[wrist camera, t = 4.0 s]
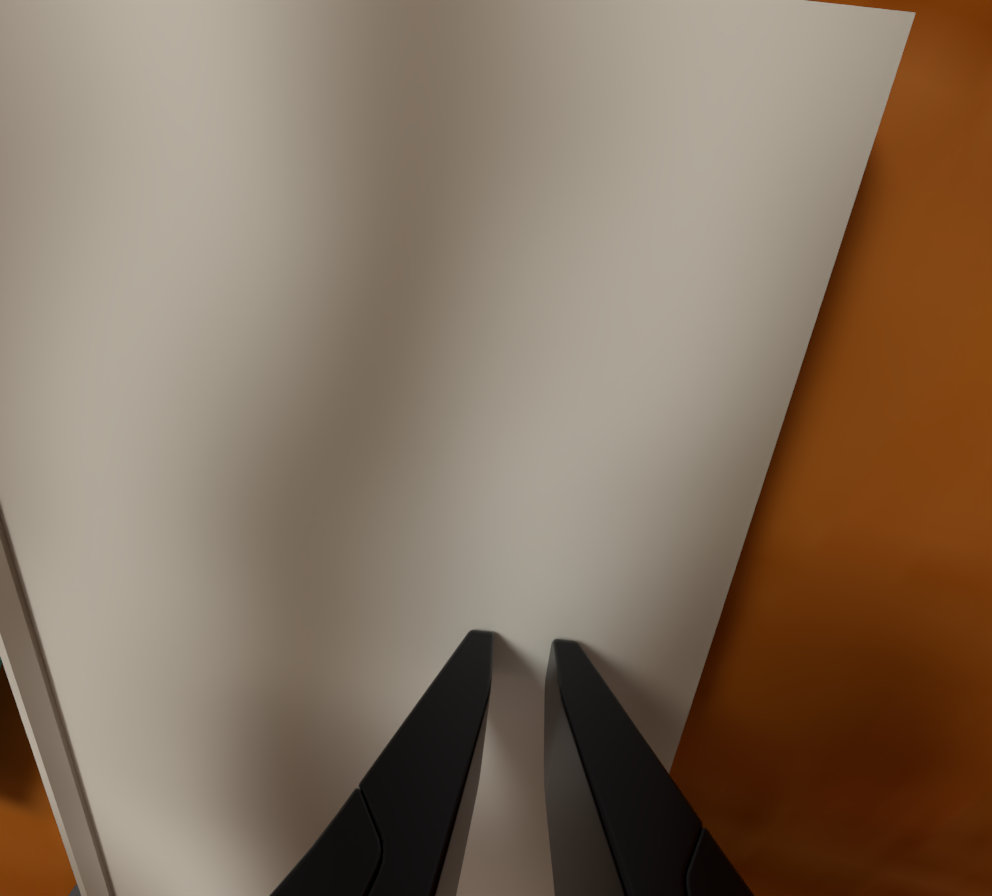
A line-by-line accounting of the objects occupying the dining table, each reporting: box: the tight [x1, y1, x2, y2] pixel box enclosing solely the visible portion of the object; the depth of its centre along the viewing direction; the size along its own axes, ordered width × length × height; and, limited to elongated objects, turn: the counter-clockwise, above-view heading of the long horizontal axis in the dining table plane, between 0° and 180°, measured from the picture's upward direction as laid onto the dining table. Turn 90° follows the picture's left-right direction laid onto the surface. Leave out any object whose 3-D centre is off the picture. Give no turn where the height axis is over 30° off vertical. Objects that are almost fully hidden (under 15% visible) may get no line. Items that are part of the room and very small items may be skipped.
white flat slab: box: [0, 0, 915, 896], centre depth 10 cm, size 12×18×2 cm, turn 174°
